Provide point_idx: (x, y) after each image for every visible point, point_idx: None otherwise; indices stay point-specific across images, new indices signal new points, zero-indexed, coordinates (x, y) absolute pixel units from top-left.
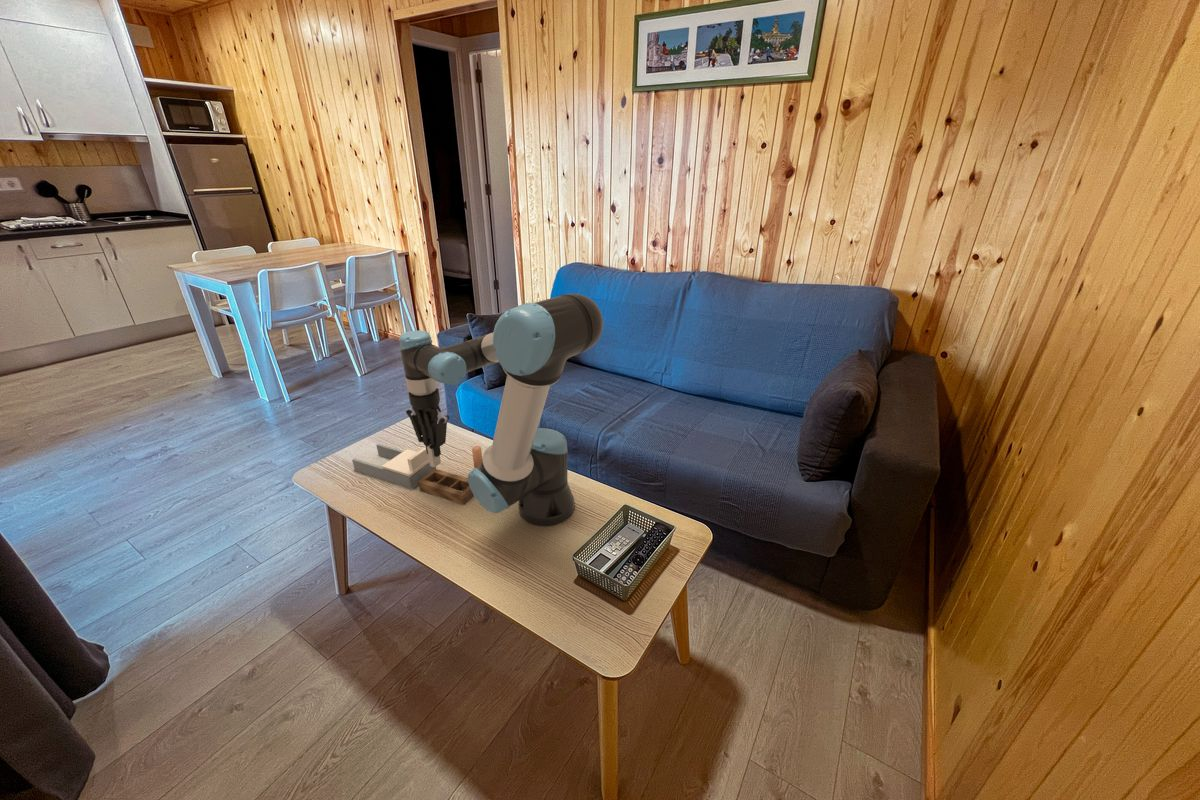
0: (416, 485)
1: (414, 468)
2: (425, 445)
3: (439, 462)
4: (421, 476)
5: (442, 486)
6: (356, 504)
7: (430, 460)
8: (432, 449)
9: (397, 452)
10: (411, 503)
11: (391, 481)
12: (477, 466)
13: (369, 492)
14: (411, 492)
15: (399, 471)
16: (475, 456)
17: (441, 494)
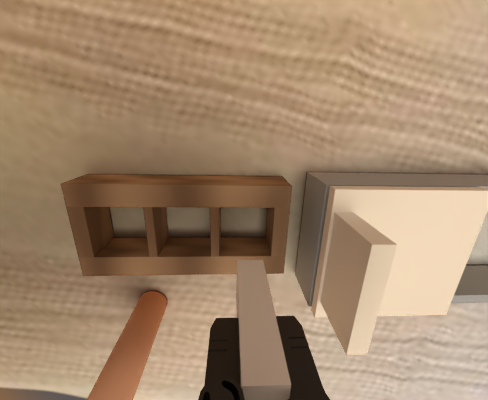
0: (306, 191)
1: (337, 227)
2: (312, 393)
3: (236, 295)
4: (309, 225)
5: (179, 201)
6: (457, 14)
7: (259, 284)
8: (240, 370)
9: (469, 290)
10: (262, 108)
11: (402, 174)
12: (124, 335)
13: (446, 98)
14: (302, 159)
15: (394, 190)
16: (103, 384)
17: (179, 178)
